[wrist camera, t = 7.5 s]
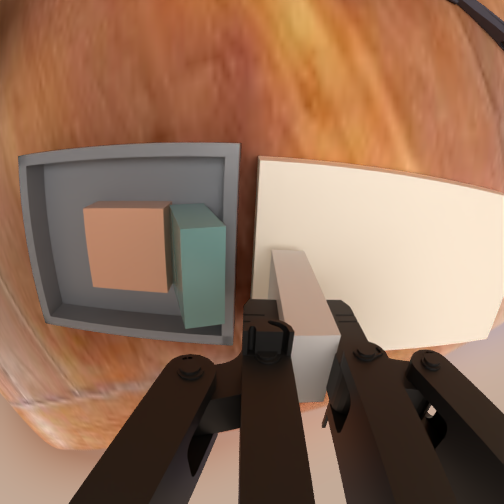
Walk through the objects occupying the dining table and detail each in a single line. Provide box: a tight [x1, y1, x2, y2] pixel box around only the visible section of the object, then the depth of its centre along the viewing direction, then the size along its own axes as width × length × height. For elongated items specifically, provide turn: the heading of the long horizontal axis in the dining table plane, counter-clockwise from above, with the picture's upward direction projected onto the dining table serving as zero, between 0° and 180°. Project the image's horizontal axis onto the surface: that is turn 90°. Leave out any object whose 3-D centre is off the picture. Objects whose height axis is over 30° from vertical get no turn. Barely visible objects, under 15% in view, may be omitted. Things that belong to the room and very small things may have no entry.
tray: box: [18, 142, 241, 345], centre depth 18 cm, size 14×12×2 cm
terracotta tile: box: [83, 201, 173, 293], centre depth 18 cm, size 5×5×2 cm
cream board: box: [250, 156, 504, 350], centre depth 18 cm, size 18×11×4 cm, turn 87°
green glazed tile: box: [169, 203, 226, 329], centre depth 16 cm, size 5×5×2 cm
